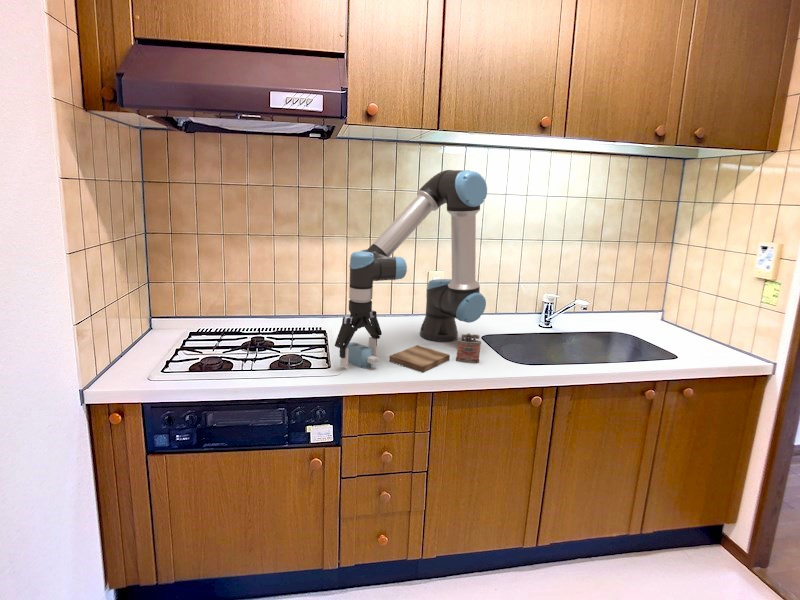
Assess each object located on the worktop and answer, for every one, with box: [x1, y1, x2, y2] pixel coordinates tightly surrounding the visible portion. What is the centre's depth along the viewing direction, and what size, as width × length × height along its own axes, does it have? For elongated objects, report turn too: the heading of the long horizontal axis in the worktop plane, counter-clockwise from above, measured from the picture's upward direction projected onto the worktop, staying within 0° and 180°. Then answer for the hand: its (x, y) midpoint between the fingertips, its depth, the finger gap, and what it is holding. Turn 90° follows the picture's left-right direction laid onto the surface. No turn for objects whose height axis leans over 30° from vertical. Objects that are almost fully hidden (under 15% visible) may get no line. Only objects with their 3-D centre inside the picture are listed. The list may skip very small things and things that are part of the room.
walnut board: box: [389, 344, 451, 373], centre depth 172 cm, size 16×14×2 cm
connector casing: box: [347, 341, 379, 369], centre depth 165 cm, size 4×12×6 cm, turn 52°
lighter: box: [455, 332, 482, 364], centre depth 173 cm, size 8×3×10 cm, turn 82°
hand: (358, 361), depth 167 cm, fingers open, 13 cm apart
